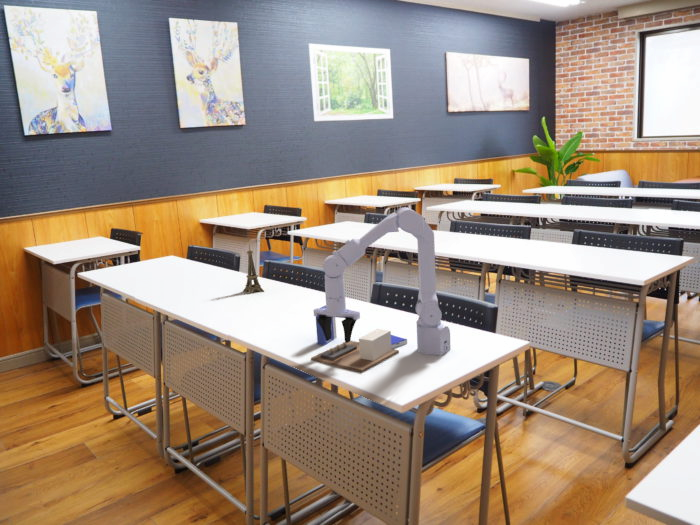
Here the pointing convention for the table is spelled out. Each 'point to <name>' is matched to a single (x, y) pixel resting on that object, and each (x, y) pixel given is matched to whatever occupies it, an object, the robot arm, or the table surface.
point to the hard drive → (397, 341)
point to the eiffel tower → (252, 276)
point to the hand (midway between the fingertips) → (338, 340)
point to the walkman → (320, 333)
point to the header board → (350, 357)
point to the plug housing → (375, 344)
